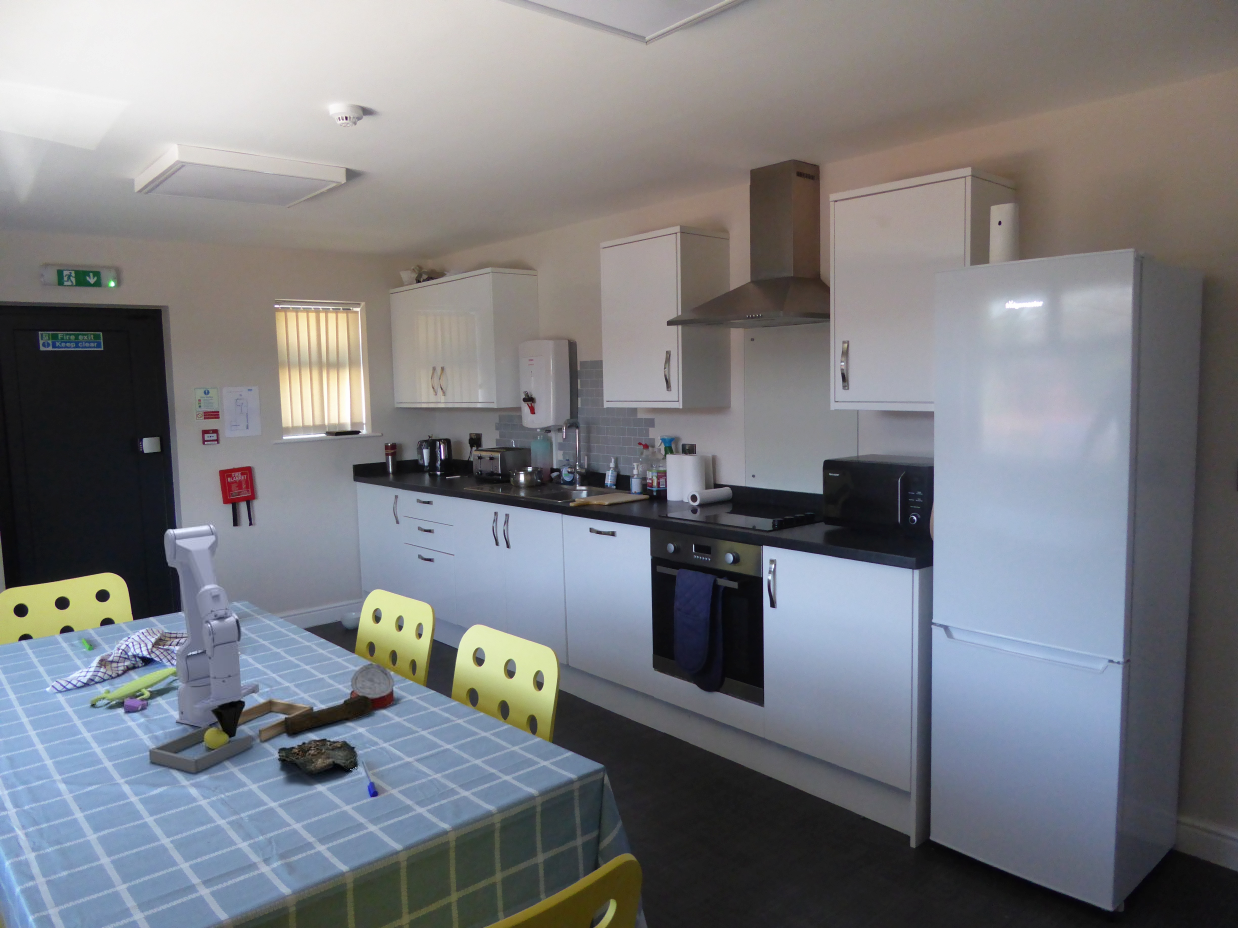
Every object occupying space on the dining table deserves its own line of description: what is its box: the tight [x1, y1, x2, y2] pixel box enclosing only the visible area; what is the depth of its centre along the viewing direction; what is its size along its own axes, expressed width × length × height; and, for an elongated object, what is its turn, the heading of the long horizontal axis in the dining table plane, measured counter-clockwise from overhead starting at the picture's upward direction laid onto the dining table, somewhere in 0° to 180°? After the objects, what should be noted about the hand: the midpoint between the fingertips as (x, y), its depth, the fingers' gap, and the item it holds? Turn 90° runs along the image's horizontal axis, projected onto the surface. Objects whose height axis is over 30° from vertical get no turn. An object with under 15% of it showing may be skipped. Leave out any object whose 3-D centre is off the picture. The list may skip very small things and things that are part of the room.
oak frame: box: [217, 698, 314, 742], centre depth 183 cm, size 14×14×2 cm
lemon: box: [203, 726, 230, 750], centre depth 172 cm, size 4×8×4 cm, turn 41°
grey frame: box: [148, 725, 253, 774], centre depth 169 cm, size 14×13×2 cm
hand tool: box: [284, 695, 374, 736], centre depth 183 cm, size 19×4×5 cm, turn 124°
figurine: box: [89, 667, 178, 712], centre depth 205 cm, size 18×27×6 cm
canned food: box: [349, 662, 395, 711], centre depth 194 cm, size 11×10×10 cm
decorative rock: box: [277, 737, 358, 775], centre depth 164 cm, size 19×6×15 cm
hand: (230, 736), depth 175 cm, fingers closed
